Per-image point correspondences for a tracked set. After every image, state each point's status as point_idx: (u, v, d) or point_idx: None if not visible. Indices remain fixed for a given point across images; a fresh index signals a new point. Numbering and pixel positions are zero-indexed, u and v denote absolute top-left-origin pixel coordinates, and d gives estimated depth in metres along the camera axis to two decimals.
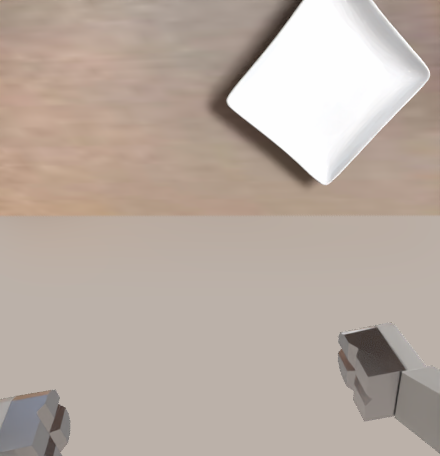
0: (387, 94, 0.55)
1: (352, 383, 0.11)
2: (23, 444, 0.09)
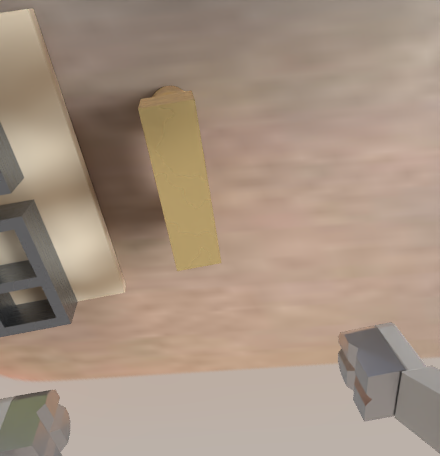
0: None
1: (352, 383, 0.11)
2: (23, 444, 0.09)
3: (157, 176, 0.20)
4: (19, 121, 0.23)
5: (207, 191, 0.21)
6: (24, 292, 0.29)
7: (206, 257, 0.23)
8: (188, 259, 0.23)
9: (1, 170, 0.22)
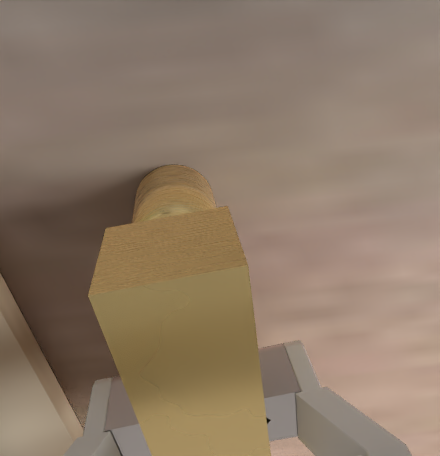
0: None
1: None
2: (136, 421, 0.09)
3: (146, 421, 0.08)
4: None
5: (263, 434, 0.09)
6: None
7: None
8: None
9: None
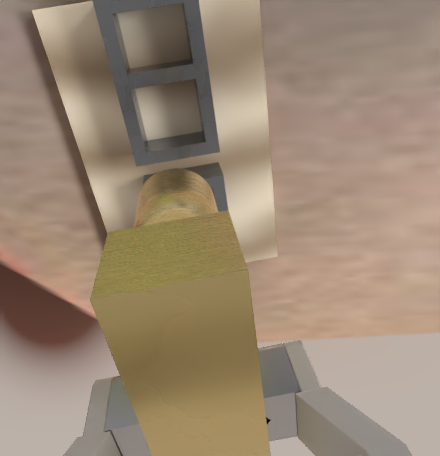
0: None
1: None
2: (135, 421, 0.09)
3: (147, 424, 0.08)
4: (224, 84, 0.25)
5: (263, 437, 0.09)
6: None
7: None
8: None
9: (216, 129, 0.24)
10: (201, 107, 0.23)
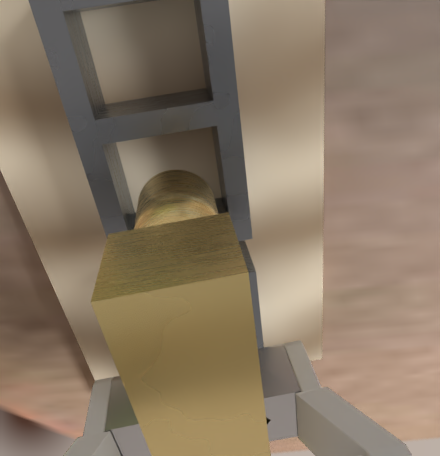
0: None
1: None
2: (135, 421, 0.09)
3: (147, 425, 0.08)
4: (258, 127, 0.15)
5: (263, 439, 0.09)
6: None
7: None
8: None
9: (248, 204, 0.14)
10: (224, 171, 0.13)
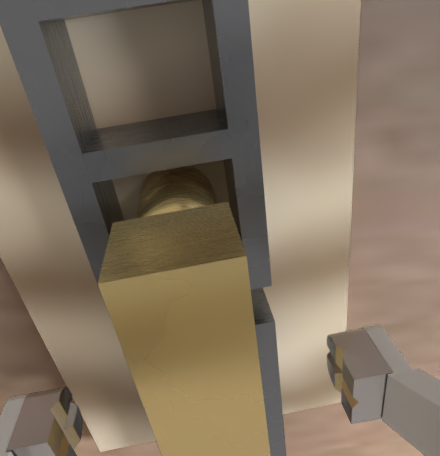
0: None
1: (340, 385, 0.11)
2: (38, 441, 0.09)
3: (150, 405, 0.09)
4: (278, 153, 0.13)
5: (261, 419, 0.10)
6: None
7: None
8: None
9: (268, 248, 0.12)
10: (240, 211, 0.11)
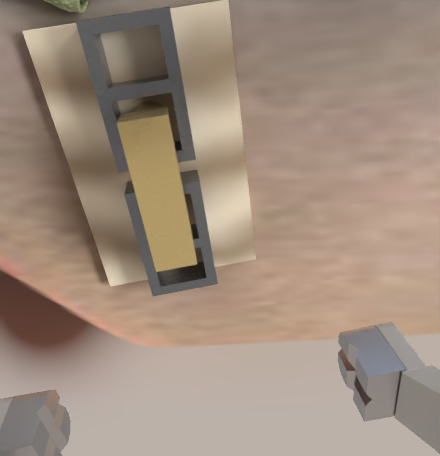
0: None
1: (352, 383, 0.11)
2: (23, 444, 0.09)
3: (135, 184, 0.22)
4: (200, 97, 0.27)
5: (182, 197, 0.23)
6: None
7: (183, 259, 0.25)
8: (166, 261, 0.25)
9: None
10: (177, 118, 0.25)
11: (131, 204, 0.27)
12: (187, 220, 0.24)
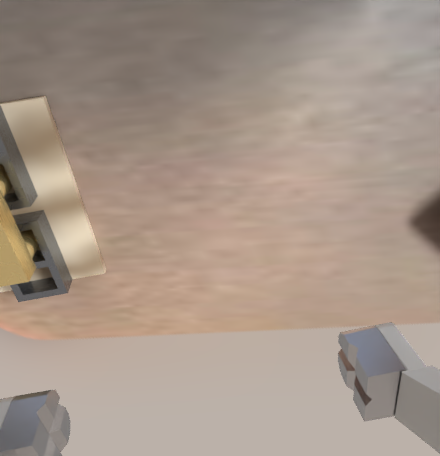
0: None
1: (352, 383, 0.11)
2: (23, 444, 0.09)
3: None
4: (35, 161, 0.37)
5: (6, 237, 0.34)
6: (36, 272, 0.43)
7: (17, 278, 0.36)
8: (5, 279, 0.36)
9: (24, 192, 0.36)
10: (10, 179, 0.35)
11: None
12: (14, 252, 0.35)
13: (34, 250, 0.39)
